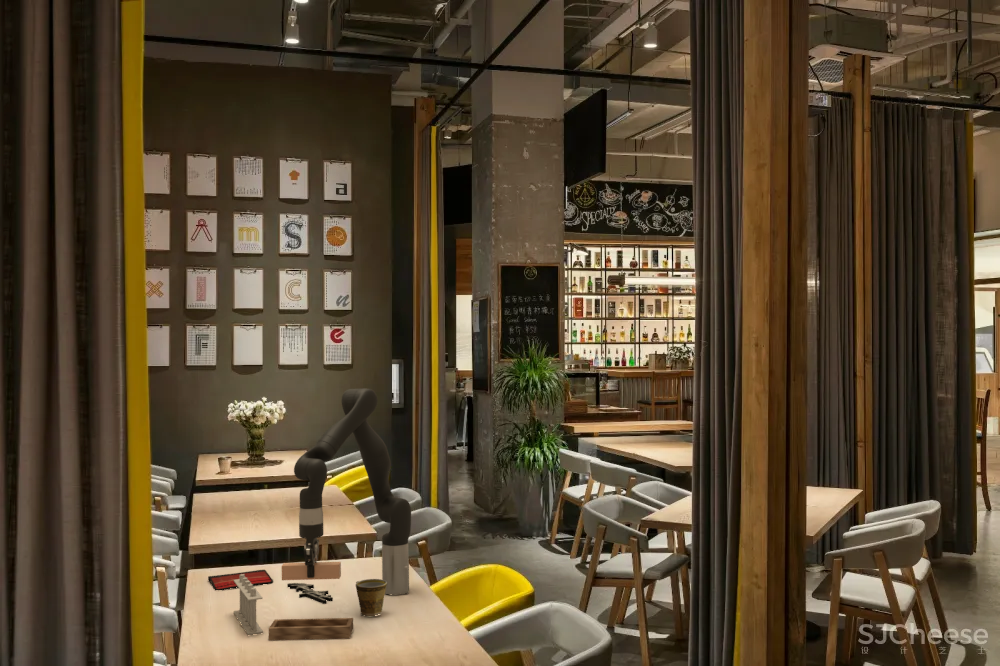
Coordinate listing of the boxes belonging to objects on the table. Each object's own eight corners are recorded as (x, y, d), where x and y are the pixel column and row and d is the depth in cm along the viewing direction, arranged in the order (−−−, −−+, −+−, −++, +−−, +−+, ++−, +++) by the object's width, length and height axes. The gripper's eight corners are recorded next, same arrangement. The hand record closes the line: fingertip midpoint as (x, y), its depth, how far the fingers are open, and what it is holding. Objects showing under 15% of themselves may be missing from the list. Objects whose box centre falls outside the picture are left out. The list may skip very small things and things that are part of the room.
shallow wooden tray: (353, 628, 273) (353, 617, 273) (349, 638, 264) (349, 627, 264) (275, 630, 272) (274, 619, 272) (268, 640, 263) (268, 628, 263)
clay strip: (340, 575, 282) (340, 561, 282) (339, 578, 278) (339, 564, 278) (284, 577, 281) (283, 563, 281) (281, 580, 278) (281, 566, 278)
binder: (208, 575, 328) (265, 568, 338) (207, 581, 329) (265, 574, 338) (215, 588, 314) (274, 580, 324) (215, 594, 314) (274, 586, 324)
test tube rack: (263, 633, 269) (262, 590, 269) (248, 636, 267) (248, 592, 267) (247, 611, 291) (246, 571, 291) (233, 613, 289) (233, 573, 289)
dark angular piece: (277, 585, 317) (302, 580, 324) (277, 590, 317) (302, 584, 324) (318, 602, 297) (343, 596, 304) (318, 606, 297) (343, 600, 303)
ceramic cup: (393, 613, 288) (393, 582, 288) (369, 620, 280) (368, 589, 280) (368, 605, 296) (368, 575, 297) (344, 612, 289) (343, 581, 289)
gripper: (319, 526, 273) (320, 581, 273) (326, 516, 287) (327, 569, 287) (295, 526, 273) (295, 582, 273) (303, 517, 287) (304, 570, 287)
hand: (312, 575), depth 280 cm, fingers closed on clay strip, 3 cm apart
